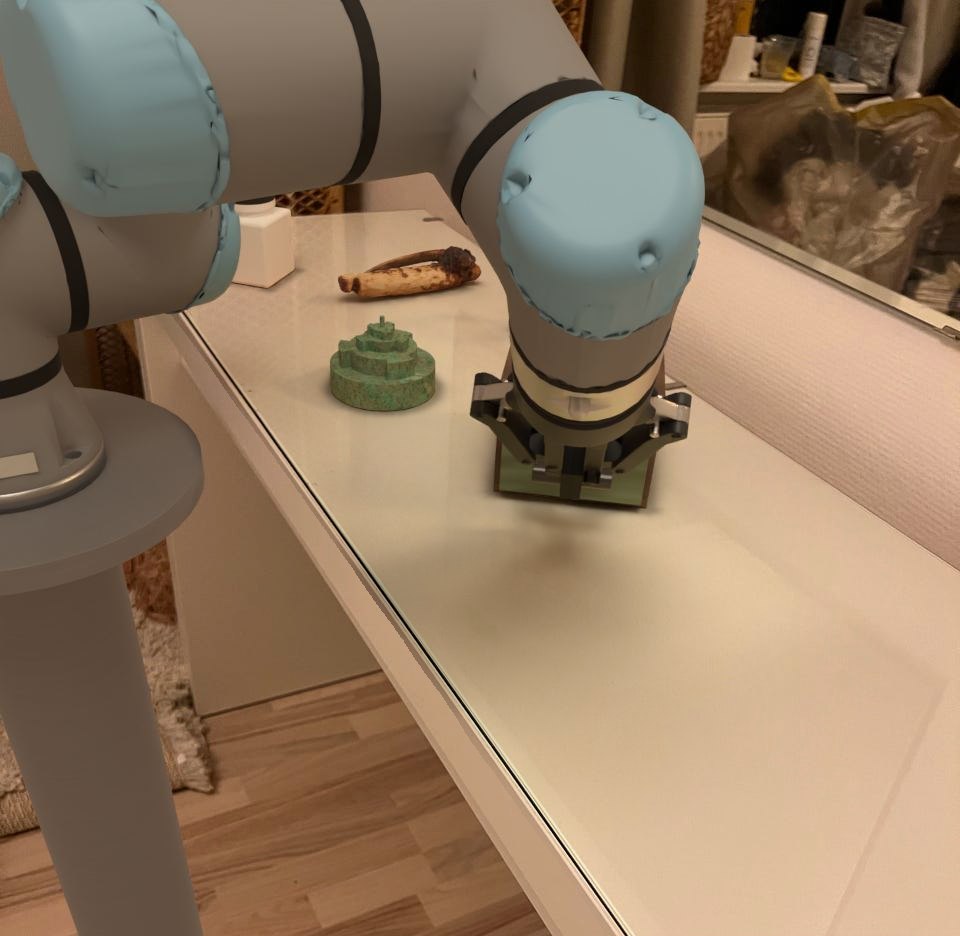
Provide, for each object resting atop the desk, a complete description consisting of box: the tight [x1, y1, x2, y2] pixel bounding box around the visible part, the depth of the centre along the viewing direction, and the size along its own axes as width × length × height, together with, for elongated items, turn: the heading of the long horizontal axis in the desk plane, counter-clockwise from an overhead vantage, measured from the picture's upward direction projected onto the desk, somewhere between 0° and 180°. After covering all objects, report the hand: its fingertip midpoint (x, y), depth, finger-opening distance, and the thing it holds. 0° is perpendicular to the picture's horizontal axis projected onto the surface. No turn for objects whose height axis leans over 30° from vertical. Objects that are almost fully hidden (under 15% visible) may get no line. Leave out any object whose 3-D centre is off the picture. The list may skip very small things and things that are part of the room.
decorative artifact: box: [329, 315, 436, 412], centre depth 93 cm, size 10×7×10 cm
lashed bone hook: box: [337, 245, 482, 298], centre depth 115 cm, size 9×5×18 cm
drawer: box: [499, 433, 649, 505], centre depth 80 cm, size 18×11×8 cm, turn 172°
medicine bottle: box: [231, 195, 296, 289], centre depth 114 cm, size 7×7×12 cm
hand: (571, 481), depth 73 cm, fingers closed
